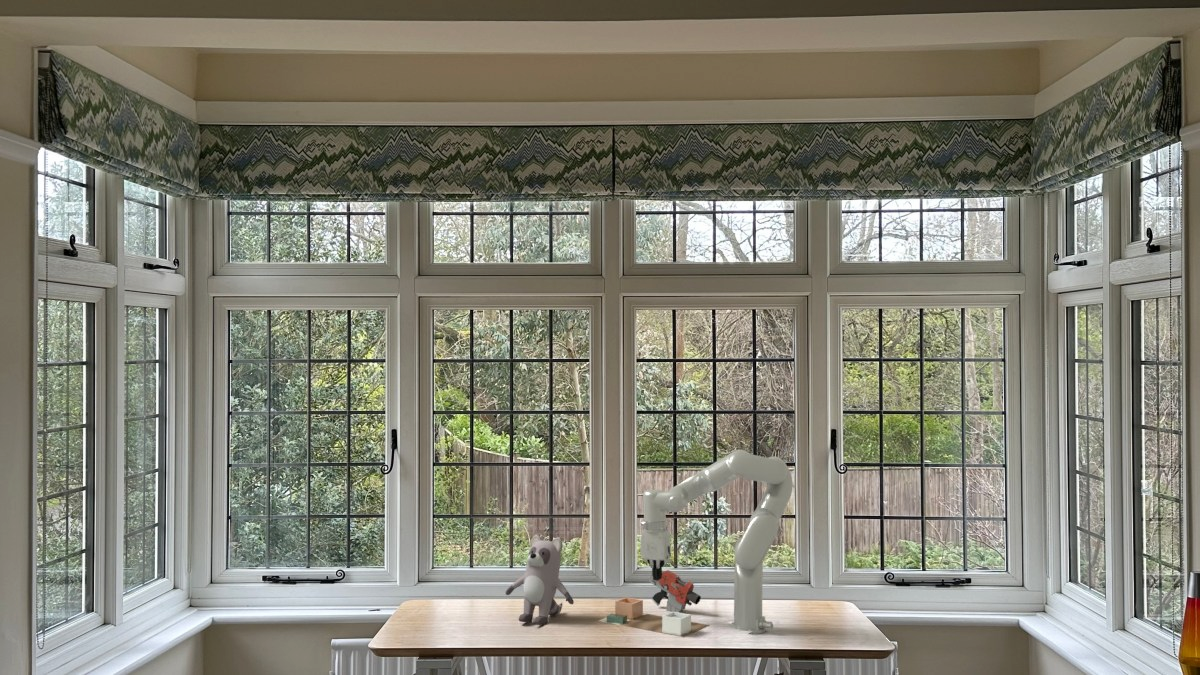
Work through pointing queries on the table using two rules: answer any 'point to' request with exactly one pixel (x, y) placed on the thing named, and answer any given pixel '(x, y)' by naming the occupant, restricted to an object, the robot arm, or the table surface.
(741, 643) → the table surface
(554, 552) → the toy
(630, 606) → the peach open cubby box
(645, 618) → the board
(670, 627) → the white open cubby box
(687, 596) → the toy gun
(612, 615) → the tin
